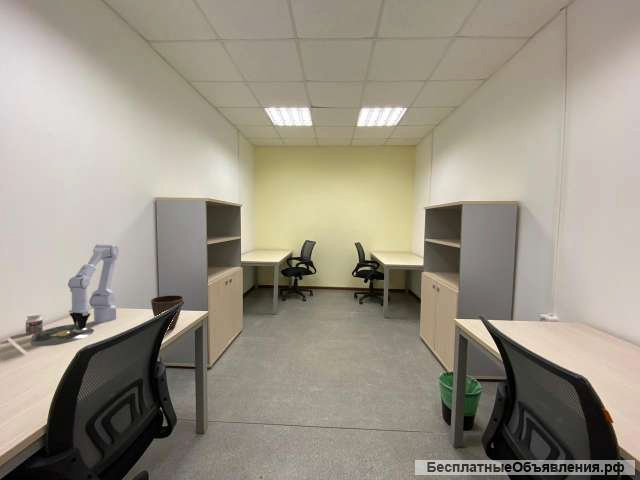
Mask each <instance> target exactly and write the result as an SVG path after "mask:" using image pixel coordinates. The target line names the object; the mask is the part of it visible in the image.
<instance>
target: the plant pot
mask: <svg viewBox="0 0 640 480" xmlns="http://www.w3.org/2000/svg"><path fill="white" fill-rule="evenodd" d="M183 300H184V297H183V296H181V295H178V294H177V295H176V294H175V295H173V294H172V295H163V296H157V297H153V298H152V299H150V303H151V309H152V314H153V317H154V318H155V316H157V315H159V314H161V313H162V312H164V311H166V310H168V309H170V308H172V307H174V306H175V305H177V304H179V303H180V302H182V303H183ZM181 310H182V307H181V308H180V309H179V311H178V312H177V314H176V315H175V317H174V319H173V321H172V322H171V324H170V326H169V329H168V330H167V331H169V330H173V329H175V328H176V325H177V323H178V321H179V316H180V315H181Z"/></svg>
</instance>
